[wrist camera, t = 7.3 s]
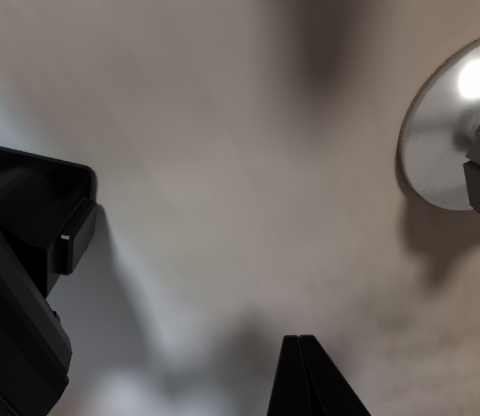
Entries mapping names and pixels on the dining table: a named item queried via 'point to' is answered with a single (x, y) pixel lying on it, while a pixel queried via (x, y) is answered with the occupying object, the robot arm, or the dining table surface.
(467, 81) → the pipe stand
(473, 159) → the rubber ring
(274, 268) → the dining table surface
